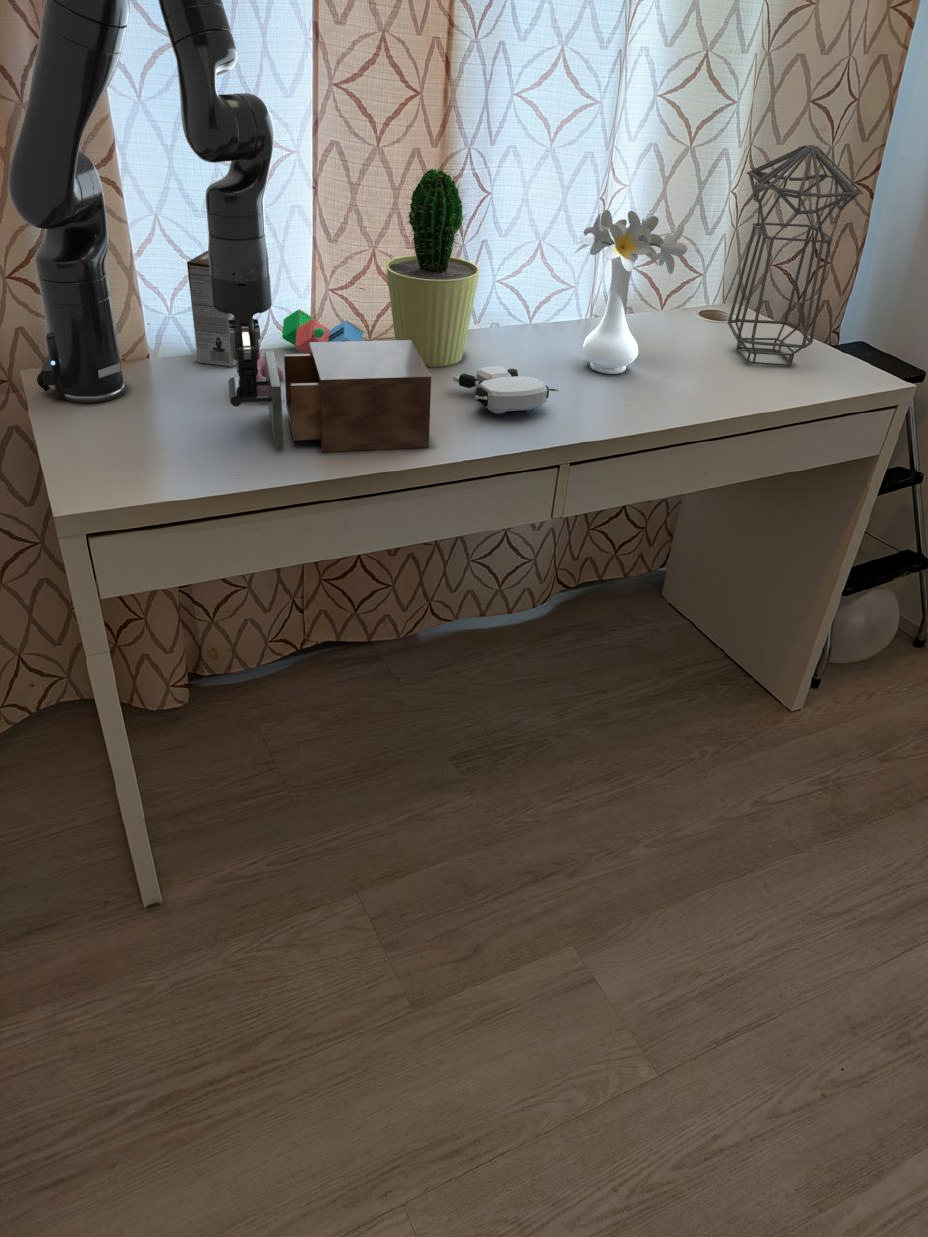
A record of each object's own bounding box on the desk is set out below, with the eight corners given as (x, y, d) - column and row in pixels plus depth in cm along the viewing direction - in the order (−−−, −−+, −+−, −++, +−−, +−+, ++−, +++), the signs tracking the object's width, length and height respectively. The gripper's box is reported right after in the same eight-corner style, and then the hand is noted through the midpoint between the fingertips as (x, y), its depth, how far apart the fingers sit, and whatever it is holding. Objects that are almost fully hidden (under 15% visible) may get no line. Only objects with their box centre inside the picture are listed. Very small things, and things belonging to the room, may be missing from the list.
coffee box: (219, 345, 165) (210, 246, 156) (254, 349, 164) (248, 251, 155) (196, 362, 158) (185, 260, 149) (233, 367, 157) (225, 265, 148)
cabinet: (322, 452, 133) (320, 379, 127) (311, 410, 144) (309, 342, 139) (428, 447, 136) (431, 376, 130) (409, 406, 148) (411, 339, 142)
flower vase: (675, 372, 166) (703, 218, 152) (587, 386, 158) (609, 225, 144) (629, 348, 176) (651, 200, 162) (544, 360, 168) (560, 206, 154)
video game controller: (261, 388, 154) (238, 349, 150) (286, 376, 153) (264, 337, 150) (255, 413, 146) (231, 372, 142) (282, 400, 145) (258, 359, 141)
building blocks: (315, 378, 168) (363, 350, 160) (278, 356, 162) (326, 327, 155) (318, 339, 170) (365, 311, 163) (281, 317, 165) (328, 286, 157)
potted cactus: (366, 349, 167) (366, 159, 150) (435, 334, 176) (443, 153, 159) (422, 377, 158) (428, 178, 141) (492, 360, 166) (506, 170, 150)
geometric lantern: (817, 376, 169) (876, 156, 149) (727, 370, 169) (774, 150, 149) (793, 346, 182) (845, 140, 162) (710, 341, 182) (751, 134, 162)
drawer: (234, 448, 130) (229, 388, 125) (230, 408, 141) (225, 351, 136) (374, 441, 134) (374, 383, 129) (360, 403, 145) (360, 348, 140)
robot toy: (447, 394, 155) (486, 424, 143) (447, 366, 152) (487, 394, 140) (516, 386, 159) (559, 415, 147) (517, 359, 157) (562, 385, 145)
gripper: (208, 256, 128) (219, 382, 138) (211, 285, 118) (223, 419, 128) (266, 256, 130) (273, 381, 140) (273, 284, 120) (280, 417, 129)
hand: (249, 399), depth 134 cm, fingers closed
